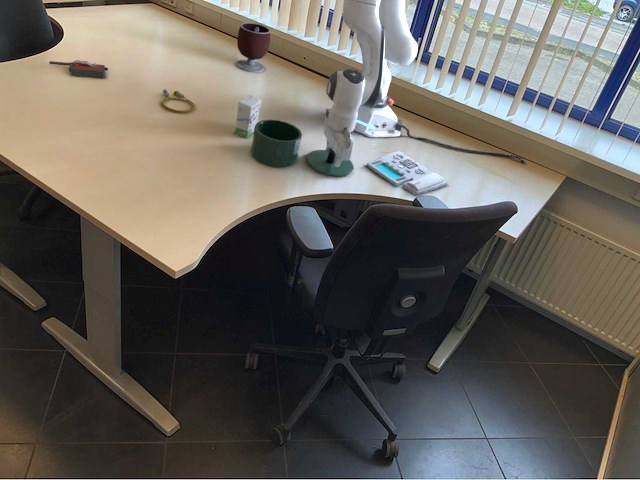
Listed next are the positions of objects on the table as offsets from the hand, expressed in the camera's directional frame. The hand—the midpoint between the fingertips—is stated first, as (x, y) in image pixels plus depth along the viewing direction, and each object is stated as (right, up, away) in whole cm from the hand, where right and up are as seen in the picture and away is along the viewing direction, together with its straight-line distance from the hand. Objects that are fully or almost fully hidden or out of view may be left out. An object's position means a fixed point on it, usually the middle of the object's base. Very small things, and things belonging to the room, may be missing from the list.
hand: (332, 158), depth 185 cm
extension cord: (-56, +22, +14) cm, 61 cm away
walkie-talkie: (-93, +34, +17) cm, 101 cm away
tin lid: (-1, -1, +1) cm, 2 cm away
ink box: (-30, +10, +8) cm, 33 cm away
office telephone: (+26, -5, +8) cm, 27 cm away
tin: (-20, +1, -2) cm, 20 cm away
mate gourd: (-35, +49, +58) cm, 83 cm away
